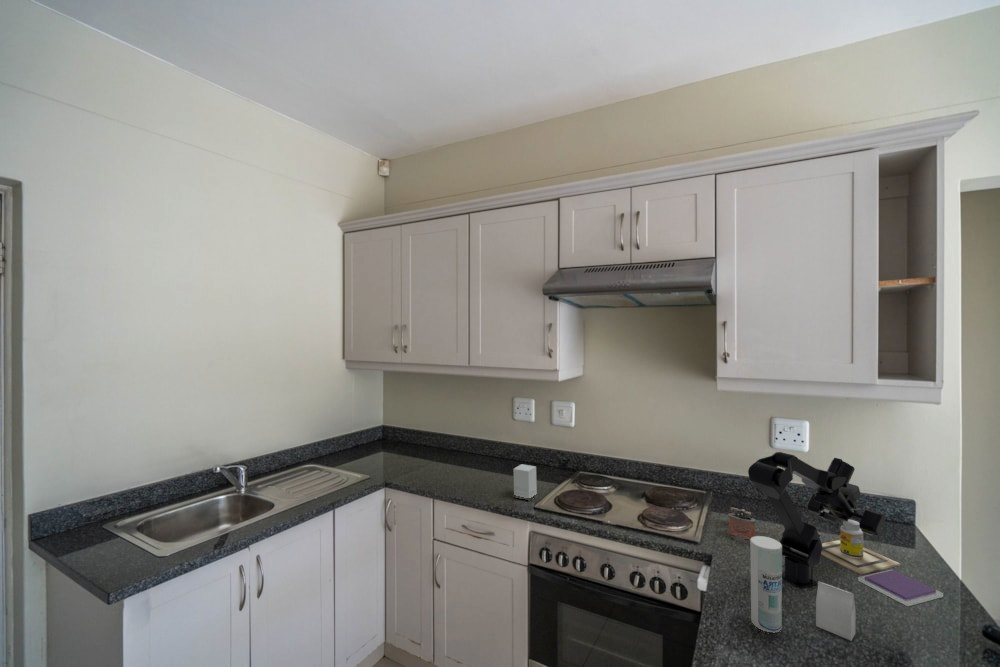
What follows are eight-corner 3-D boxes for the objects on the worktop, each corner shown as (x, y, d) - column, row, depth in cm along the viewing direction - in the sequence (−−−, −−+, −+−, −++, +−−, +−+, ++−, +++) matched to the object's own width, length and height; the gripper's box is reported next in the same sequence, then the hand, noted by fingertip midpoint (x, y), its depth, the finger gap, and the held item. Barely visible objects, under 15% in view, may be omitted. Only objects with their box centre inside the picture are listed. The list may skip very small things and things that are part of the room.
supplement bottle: (837, 549, 141) (837, 517, 141) (858, 552, 139) (858, 519, 139) (844, 558, 136) (844, 524, 136) (866, 561, 134) (866, 526, 134)
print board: (859, 574, 128) (860, 572, 128) (807, 548, 144) (807, 545, 144) (900, 565, 133) (900, 563, 133) (845, 540, 148) (845, 538, 148)
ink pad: (907, 606, 114) (907, 600, 114) (858, 580, 125) (858, 575, 125) (943, 597, 117) (943, 591, 117) (891, 572, 129) (891, 567, 129)
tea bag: (851, 641, 102) (851, 597, 102) (815, 626, 107) (815, 584, 107) (855, 633, 104) (855, 590, 104) (820, 619, 110) (820, 578, 109)
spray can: (770, 615, 111) (770, 535, 111) (788, 634, 104) (788, 548, 104) (744, 616, 111) (744, 536, 110) (761, 635, 104) (760, 549, 104)
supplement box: (537, 496, 190) (537, 466, 190) (528, 502, 184) (528, 471, 184) (522, 492, 194) (521, 463, 194) (513, 498, 188) (512, 468, 188)
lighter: (756, 541, 148) (756, 511, 148) (753, 545, 146) (753, 514, 146) (730, 533, 154) (730, 504, 154) (727, 537, 151) (726, 507, 151)
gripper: (881, 486, 127) (901, 517, 132) (811, 468, 144) (831, 496, 149) (866, 519, 124) (887, 550, 129) (796, 496, 141) (817, 524, 146)
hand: (854, 528), depth 138 cm, fingers open, 9 cm apart
